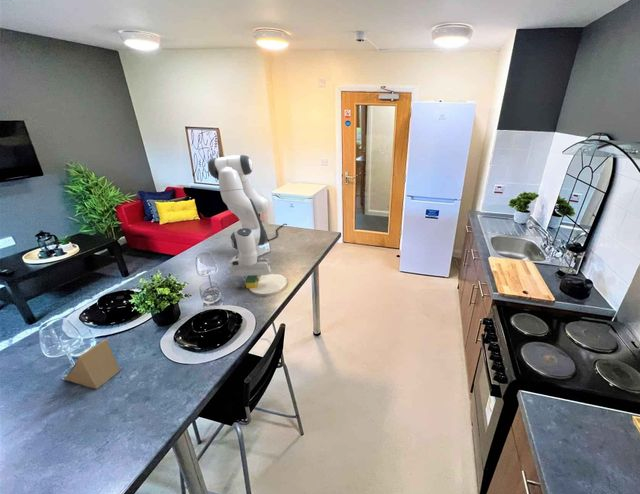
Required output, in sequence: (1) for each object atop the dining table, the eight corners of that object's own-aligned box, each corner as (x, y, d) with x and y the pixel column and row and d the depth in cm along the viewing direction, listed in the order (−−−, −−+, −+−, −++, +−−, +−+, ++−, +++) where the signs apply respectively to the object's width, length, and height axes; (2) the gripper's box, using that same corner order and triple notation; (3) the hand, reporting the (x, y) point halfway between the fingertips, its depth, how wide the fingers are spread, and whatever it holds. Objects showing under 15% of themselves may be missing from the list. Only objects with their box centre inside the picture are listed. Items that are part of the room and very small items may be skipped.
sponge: (249, 280, 161) (248, 273, 159) (259, 279, 161) (258, 273, 160) (246, 288, 154) (245, 281, 152) (256, 287, 154) (255, 280, 152)
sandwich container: (89, 360, 109) (74, 330, 103) (121, 369, 106) (107, 338, 100) (63, 379, 102) (44, 347, 95) (96, 389, 98) (79, 356, 92)
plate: (253, 277, 167) (253, 274, 166) (289, 275, 169) (288, 273, 169) (245, 297, 149) (244, 294, 148) (284, 295, 151) (284, 292, 151)
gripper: (270, 255, 155) (273, 277, 161) (230, 257, 153) (234, 279, 158) (268, 261, 150) (271, 283, 155) (226, 262, 147) (231, 285, 153)
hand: (252, 281), depth 157 cm, fingers closed on sponge, 5 cm apart
